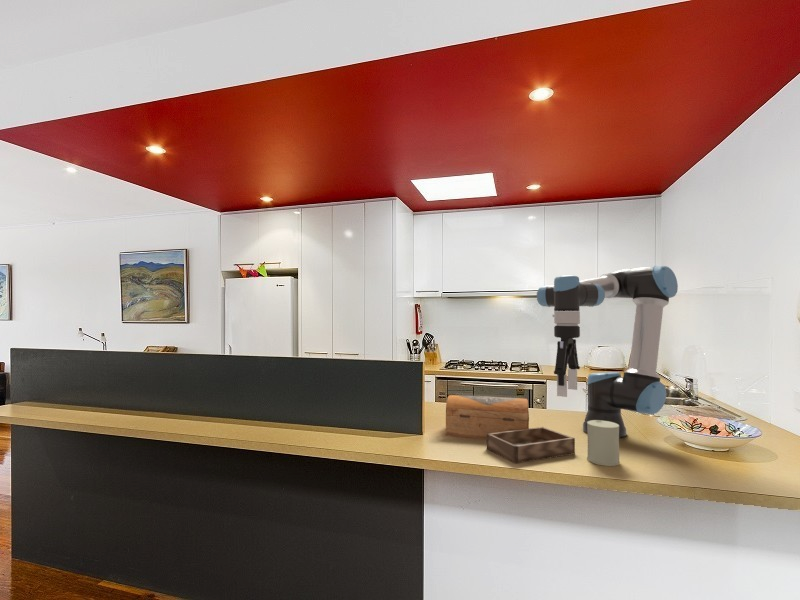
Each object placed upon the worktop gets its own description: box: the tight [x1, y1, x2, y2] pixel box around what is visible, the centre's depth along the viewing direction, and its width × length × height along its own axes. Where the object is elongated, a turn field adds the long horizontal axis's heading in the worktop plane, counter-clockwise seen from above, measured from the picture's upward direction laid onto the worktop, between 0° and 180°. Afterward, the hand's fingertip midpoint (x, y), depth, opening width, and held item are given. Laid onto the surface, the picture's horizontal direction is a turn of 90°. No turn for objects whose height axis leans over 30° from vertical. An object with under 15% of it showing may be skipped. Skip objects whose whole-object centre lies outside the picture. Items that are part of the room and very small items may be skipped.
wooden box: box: [445, 394, 530, 440], centre depth 163 cm, size 30×16×14 cm, turn 76°
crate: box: [486, 426, 576, 464], centre depth 142 cm, size 24×15×5 cm, turn 113°
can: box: [586, 420, 621, 467], centre depth 133 cm, size 9×9×12 cm
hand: (567, 392), depth 134 cm, fingers open, 13 cm apart
